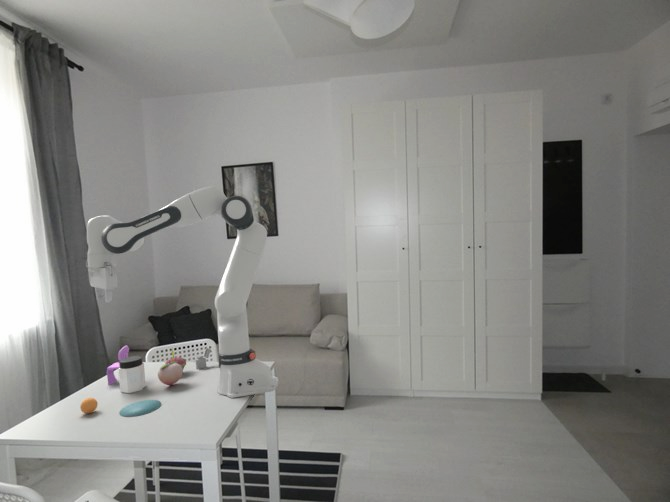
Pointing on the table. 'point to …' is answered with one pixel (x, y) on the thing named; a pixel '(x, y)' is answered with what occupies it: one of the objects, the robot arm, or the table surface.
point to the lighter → (202, 359)
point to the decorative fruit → (170, 373)
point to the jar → (131, 374)
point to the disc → (140, 408)
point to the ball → (88, 405)
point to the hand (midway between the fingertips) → (104, 300)
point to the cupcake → (177, 360)
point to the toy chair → (116, 364)
